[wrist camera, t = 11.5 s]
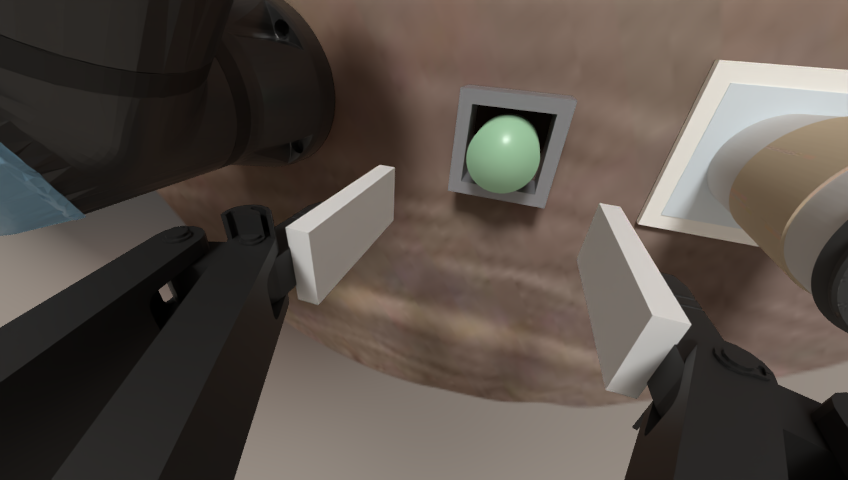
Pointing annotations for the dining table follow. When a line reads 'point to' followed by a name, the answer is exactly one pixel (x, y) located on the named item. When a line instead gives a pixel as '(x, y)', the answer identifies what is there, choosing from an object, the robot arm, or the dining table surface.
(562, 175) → the dining table surface
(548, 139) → the button box
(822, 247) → the coffee cup
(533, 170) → the button
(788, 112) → the white flat piece
